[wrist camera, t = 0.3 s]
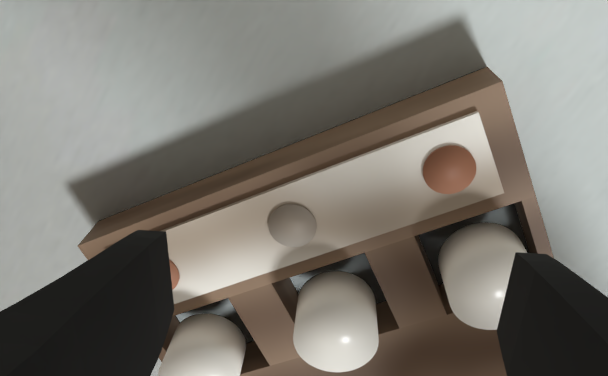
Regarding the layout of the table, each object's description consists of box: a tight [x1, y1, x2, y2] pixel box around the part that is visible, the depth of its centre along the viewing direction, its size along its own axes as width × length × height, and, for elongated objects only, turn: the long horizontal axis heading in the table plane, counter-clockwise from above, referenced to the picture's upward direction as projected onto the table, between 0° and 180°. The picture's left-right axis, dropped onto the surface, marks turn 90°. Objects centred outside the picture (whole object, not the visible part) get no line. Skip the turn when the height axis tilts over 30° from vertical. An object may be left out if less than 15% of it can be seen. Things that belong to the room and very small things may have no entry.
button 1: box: [438, 222, 527, 330], centre depth 19 cm, size 3×3×2 cm
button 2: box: [158, 314, 246, 376], centre depth 22 cm, size 3×3×2 cm
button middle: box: [293, 271, 379, 372], centre depth 20 cm, size 3×3×2 cm
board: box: [78, 67, 554, 376], centre depth 22 cm, size 13×17×2 cm
